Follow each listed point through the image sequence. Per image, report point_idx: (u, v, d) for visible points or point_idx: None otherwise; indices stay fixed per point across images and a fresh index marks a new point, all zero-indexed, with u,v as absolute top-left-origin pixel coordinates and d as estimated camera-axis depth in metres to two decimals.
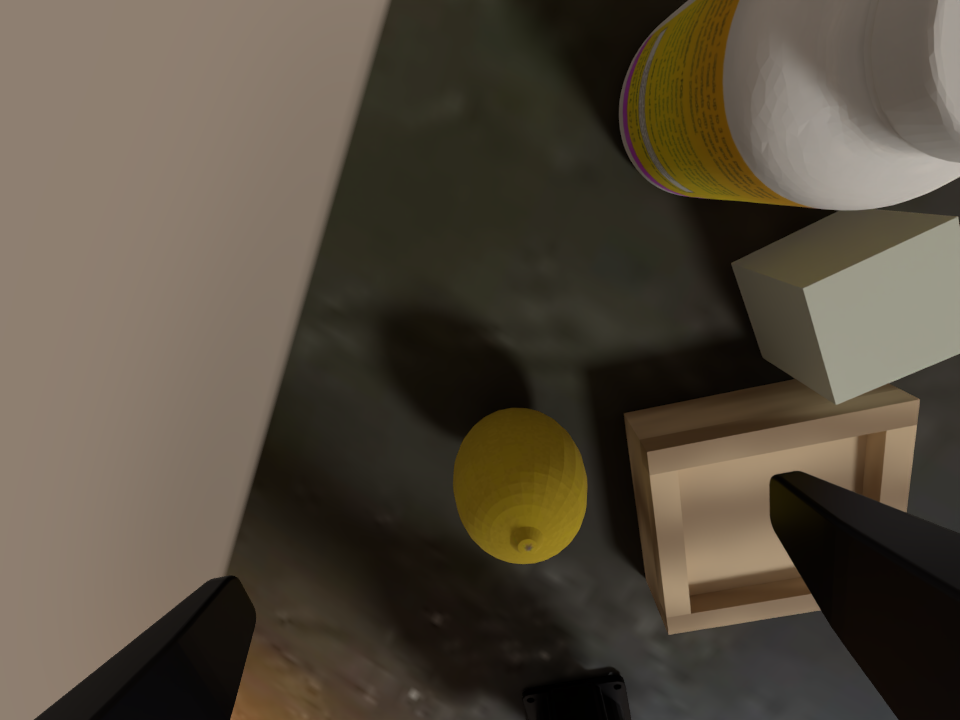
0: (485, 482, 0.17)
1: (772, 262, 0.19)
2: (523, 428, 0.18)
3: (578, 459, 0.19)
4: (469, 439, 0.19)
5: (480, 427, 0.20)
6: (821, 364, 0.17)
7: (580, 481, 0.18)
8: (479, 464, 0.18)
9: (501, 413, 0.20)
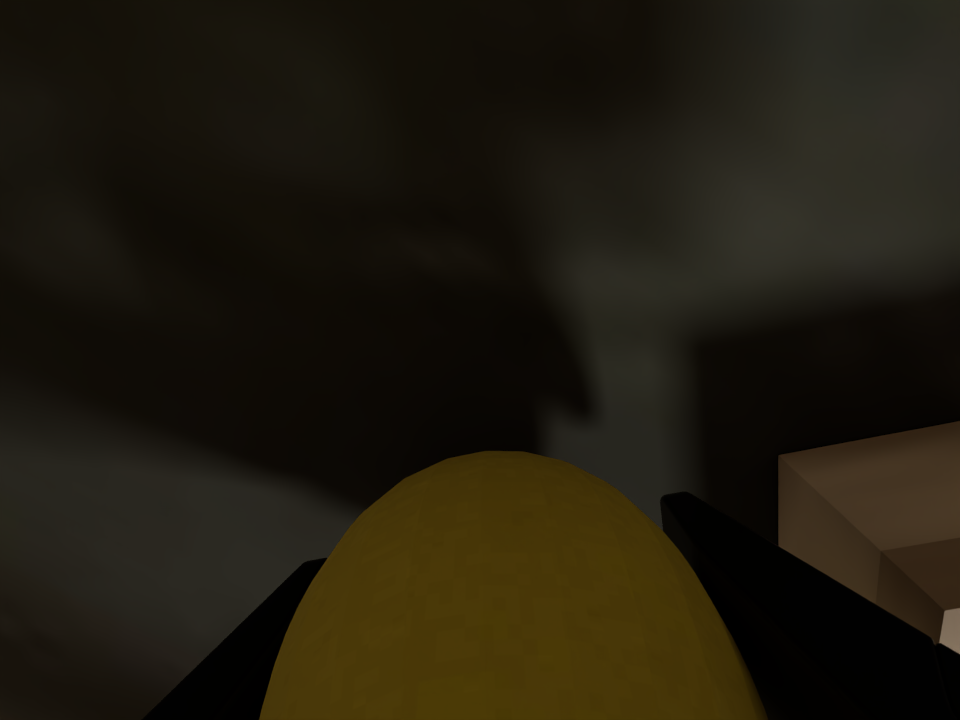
0: None
1: None
2: (522, 565, 0.04)
3: (751, 689, 0.04)
4: (318, 585, 0.05)
5: (364, 533, 0.05)
6: None
7: None
8: None
9: (446, 478, 0.06)
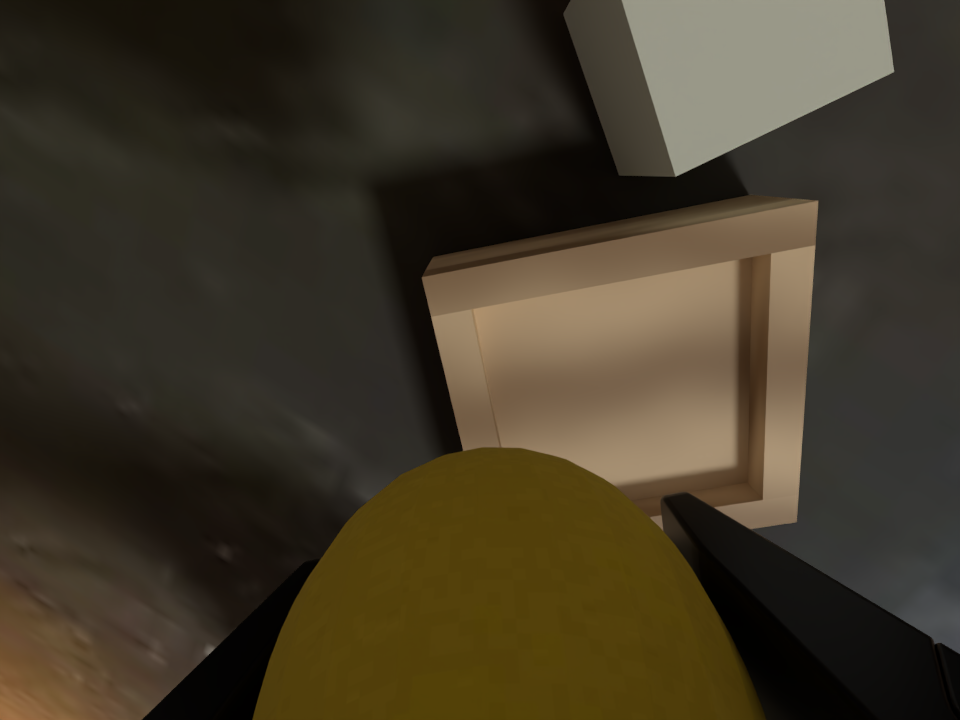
0: None
1: None
2: (517, 560, 0.04)
3: (747, 684, 0.04)
4: (314, 580, 0.05)
5: (359, 529, 0.05)
6: (649, 103, 0.11)
7: None
8: None
9: (442, 474, 0.06)
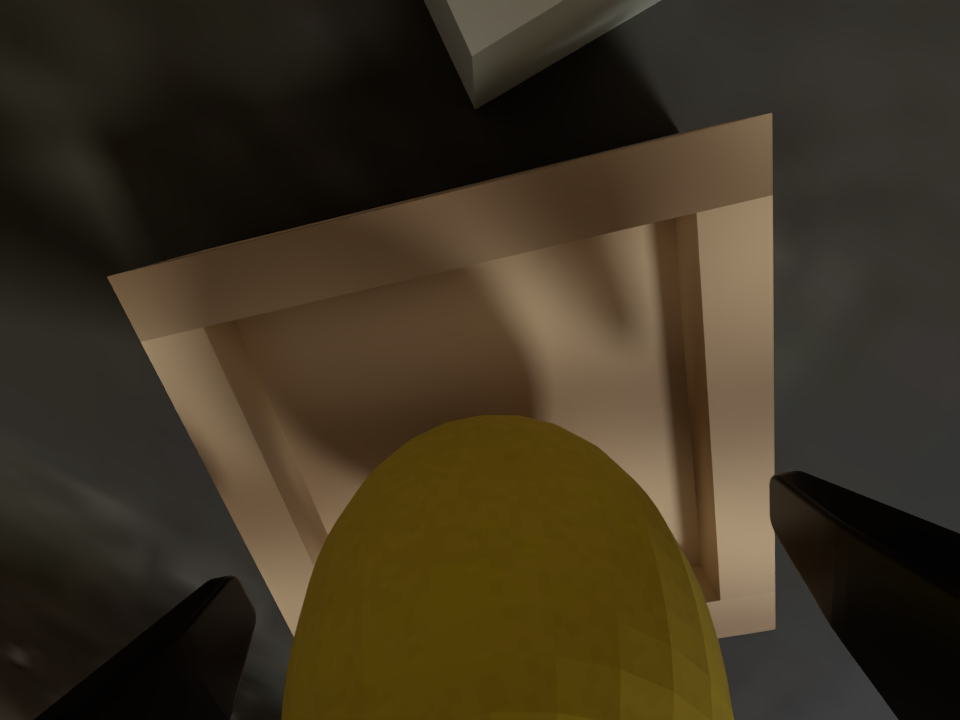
0: None
1: None
2: (512, 489, 0.05)
3: (696, 591, 0.06)
4: (345, 515, 0.06)
5: (382, 476, 0.06)
6: None
7: (726, 698, 0.05)
8: (341, 638, 0.05)
9: (450, 432, 0.07)
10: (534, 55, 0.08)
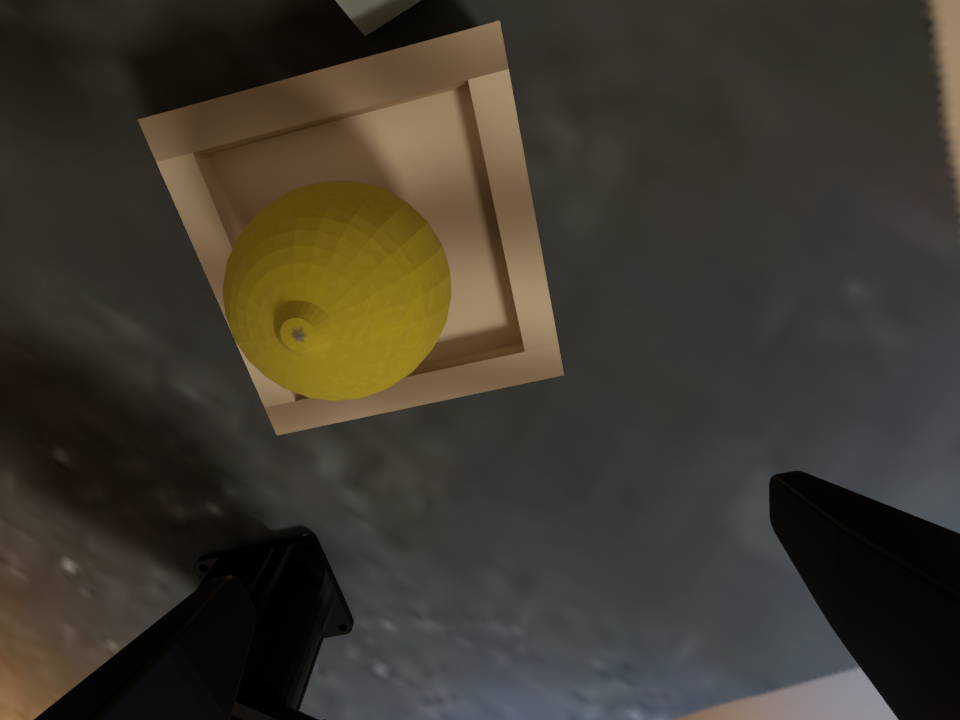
0: (244, 241, 0.10)
1: None
2: (335, 182, 0.11)
3: (426, 237, 0.12)
4: None
5: None
6: None
7: (418, 257, 0.11)
8: (248, 225, 0.11)
9: None
10: None
